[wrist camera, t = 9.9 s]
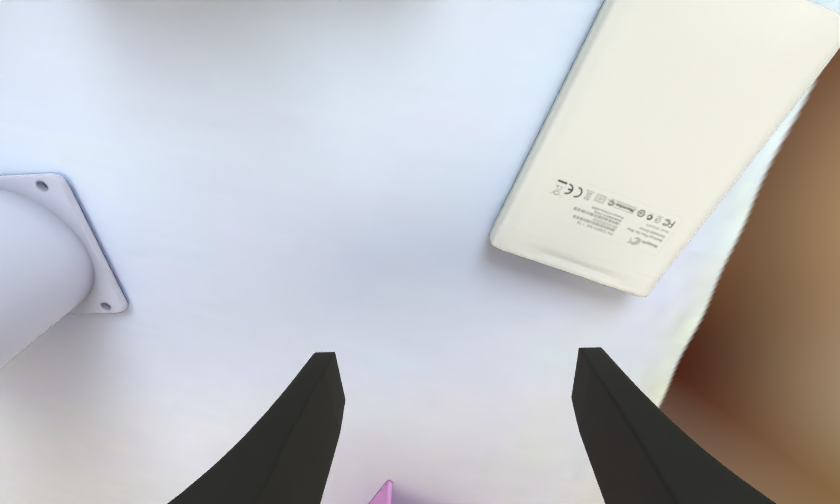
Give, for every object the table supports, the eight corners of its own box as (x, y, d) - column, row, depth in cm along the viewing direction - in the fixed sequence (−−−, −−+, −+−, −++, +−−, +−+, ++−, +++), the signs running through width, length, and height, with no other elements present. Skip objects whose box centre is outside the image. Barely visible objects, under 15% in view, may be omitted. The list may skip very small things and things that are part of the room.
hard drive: (827, 23, 16) (635, 282, 22) (633, -67, 15) (487, 231, 21) (864, 24, 15) (648, 301, 21) (653, -75, 14) (490, 248, 20)
